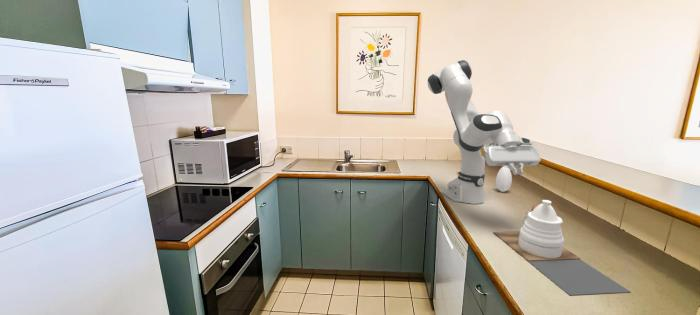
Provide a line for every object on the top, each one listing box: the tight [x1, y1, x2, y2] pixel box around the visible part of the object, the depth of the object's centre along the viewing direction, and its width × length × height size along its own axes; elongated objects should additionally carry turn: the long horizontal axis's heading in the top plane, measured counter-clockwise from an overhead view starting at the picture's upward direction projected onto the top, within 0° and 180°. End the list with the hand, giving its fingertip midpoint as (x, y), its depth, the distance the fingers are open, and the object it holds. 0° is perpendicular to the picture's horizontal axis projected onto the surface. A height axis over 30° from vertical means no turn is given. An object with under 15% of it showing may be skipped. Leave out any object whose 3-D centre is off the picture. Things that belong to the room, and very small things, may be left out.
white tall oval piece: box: [495, 166, 513, 193], centre depth 159 cm, size 8×8×18 cm
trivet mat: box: [528, 258, 631, 297], centre depth 85 cm, size 16×18×1 cm
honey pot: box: [518, 199, 565, 258], centre depth 98 cm, size 13×13×18 cm
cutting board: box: [493, 230, 581, 263], centre depth 103 cm, size 20×18×1 cm
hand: (518, 174), depth 108 cm, fingers closed
